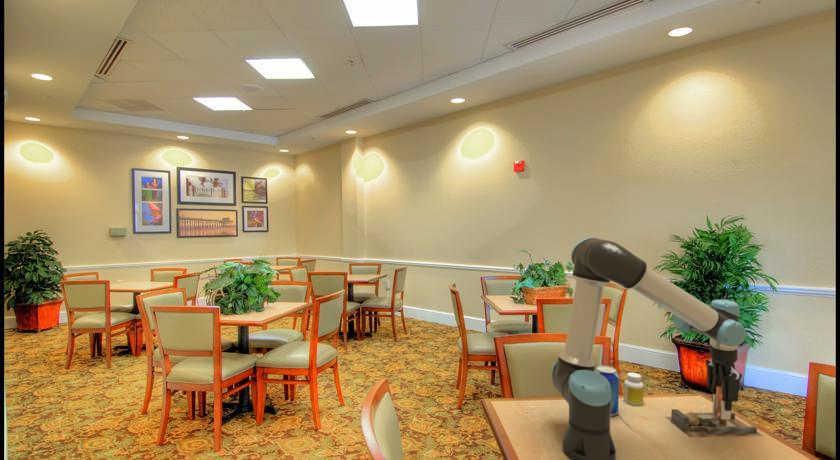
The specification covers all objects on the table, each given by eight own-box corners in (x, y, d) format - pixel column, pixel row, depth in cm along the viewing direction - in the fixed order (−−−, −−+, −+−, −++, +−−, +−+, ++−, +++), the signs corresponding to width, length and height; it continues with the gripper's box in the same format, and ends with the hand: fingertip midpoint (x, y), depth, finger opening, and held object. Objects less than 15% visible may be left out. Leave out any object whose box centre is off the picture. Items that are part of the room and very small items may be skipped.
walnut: (689, 429, 140) (689, 416, 139) (680, 422, 144) (681, 410, 144) (702, 429, 140) (702, 416, 140) (693, 422, 144) (693, 410, 144)
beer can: (594, 415, 152) (595, 372, 151) (592, 405, 160) (592, 363, 159) (619, 419, 149) (620, 374, 148) (616, 408, 157) (617, 366, 156)
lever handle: (706, 431, 138) (707, 391, 138) (691, 420, 146) (692, 382, 145) (737, 430, 139) (739, 391, 138) (721, 419, 146) (723, 382, 145)
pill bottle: (645, 410, 156) (646, 379, 155) (626, 408, 157) (627, 377, 157) (640, 402, 162) (640, 372, 162) (621, 400, 164) (622, 371, 163)
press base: (689, 440, 135) (690, 423, 135) (664, 420, 148) (665, 404, 148) (762, 439, 136) (763, 422, 136) (732, 418, 149) (732, 403, 149)
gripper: (754, 355, 133) (751, 428, 134) (716, 339, 149) (714, 404, 150) (731, 355, 133) (728, 428, 134) (695, 339, 149) (693, 404, 150)
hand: (721, 415), depth 142 cm, fingers closed on lever handle, 3 cm apart
